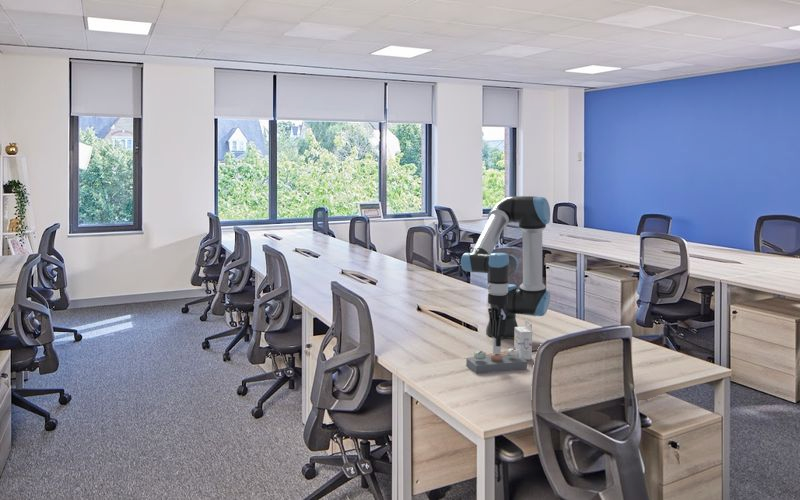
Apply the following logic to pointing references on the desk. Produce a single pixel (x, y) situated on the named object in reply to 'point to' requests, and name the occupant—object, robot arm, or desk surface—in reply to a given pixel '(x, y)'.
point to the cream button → (513, 352)
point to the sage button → (479, 355)
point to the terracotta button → (496, 357)
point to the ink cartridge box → (524, 341)
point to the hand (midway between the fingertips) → (496, 353)
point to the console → (496, 364)
